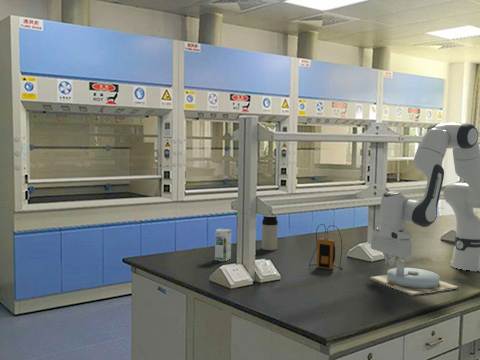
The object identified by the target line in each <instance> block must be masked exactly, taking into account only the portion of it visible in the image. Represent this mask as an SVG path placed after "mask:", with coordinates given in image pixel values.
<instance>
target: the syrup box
mask: <svg viewBox="0 0 480 360" xmlns="http://www.w3.org/2000/svg"><path fill="white" fill-rule="evenodd" d="M214 234H215V236H214V237H215V241H214V242H215V243H214V249H215V250H214V261H217V260H218V262H219V261H220V262H224V261H226V262H228V261H230V260H231V257H232V229H226V228H217V229H216V230H215V233H214ZM229 259H230V260H229ZM227 260H228V261H227Z"/></svg>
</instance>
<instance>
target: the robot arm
mask: <svg viewBox="0 0 480 360" xmlns="http://www.w3.org/2000/svg"><path fill="white" fill-rule="evenodd" d="M478 140H479V131H478V129H477V128H476V126H475V125H474V124H471V123H467V122H465V123H462V122H453V121H451V122H442V123H441V122H436V123H433V124H431V125H430V126H429V127H428V128H427V130H426V133H425V134H424V135H423V137H422V138H421V141H420V143H419V144H418V147H417V149H416V151H415V154H414V159H413V164H414V166H415V168H416V169H417V171H418V172H419V173H422V174H423V175H424V176H425V177H426V180H427V182H426V186H425V190H424V194H423V198H422V199H420V200H417V199H412V198H408V197H407V196H405V195H404V194H403V193H402V192H401V191H398V190H392V191H391V190H390V191H386V192H384V193H383V194H382V195H381V199H380V206H379V214H380V220H379V227H375V228H374V229H373V231H372V235H371V238H370V248H371V249H372V250H374V251H377V252H380V253H383V257H384V260H385V261H384V263H385V265H388V266H393V265H394V261H395V260H396V258H398V259H399V258H400V259H401V260H402V259H403V260H405V259H406V260H407V259H410V257H411V256H412V242H411V239H412V233H411V232H409V231H408V230H406V229H405V228H404V227H403V222H404V223H405V222H406V223H408V224H409V223H410V224H413V225H416V226H419V227H422V228H428V227H430V226H431V225H432V224H434V222H435V221H436V219H437V215H438V205H439V201H440V196H441V192H442V189H443V188H442V187H443V183H444V178H445V169H444V167H443V161H444V158H445V155H446V152H447V150H448V149H452V157H453V164H454V172H455V174H456V176H458V178H460V179H462V180H463V181H464V182H451V183H448V184H446V186H445V187H444V189H443V194H442V195H443V199H444V200H445V202H446V203H447V204H448V205H449V206H450V207H451V209H452V211H453V213H454V215H455V222H456V233H455V234H456V235H455V236H454V244H455V246H454V247H453V251H452V256H451V257H452V258H451V260H450V261H449V263H450V266H451V267H452V268H454V269H456V268H457V269H458V270H460V269H462V270H461V271H466V270H470V271H469V272H477V271H479V273H480V216H478V215H476V213H475V212H474V210H473V208H474V209H480V146H479V142H478Z"/></svg>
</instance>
